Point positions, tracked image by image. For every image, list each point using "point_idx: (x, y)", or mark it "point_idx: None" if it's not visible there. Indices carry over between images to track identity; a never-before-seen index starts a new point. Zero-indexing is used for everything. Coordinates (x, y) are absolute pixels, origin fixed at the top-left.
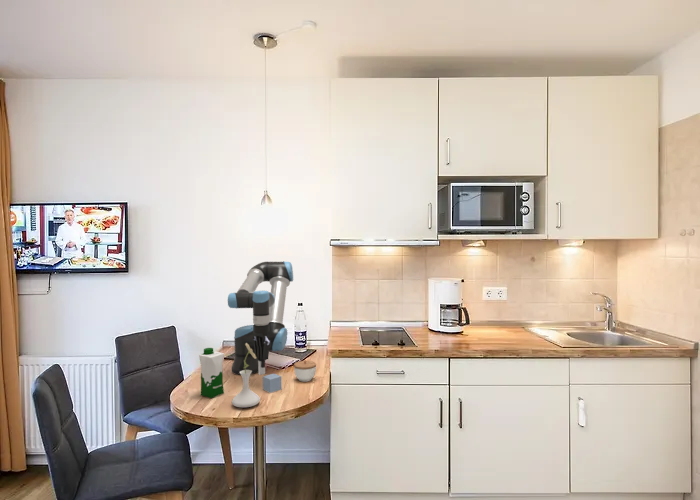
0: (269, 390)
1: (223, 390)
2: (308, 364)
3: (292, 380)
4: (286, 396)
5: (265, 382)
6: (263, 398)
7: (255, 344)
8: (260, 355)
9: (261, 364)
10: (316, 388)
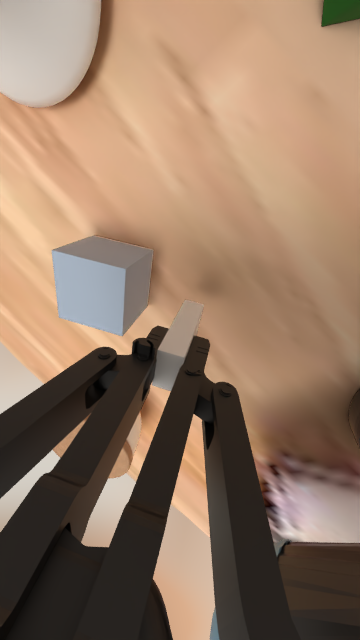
0: (95, 238)
1: (324, 1)
2: (66, 445)
3: None
4: (22, 243)
5: (112, 254)
6: (59, 160)
7: (229, 549)
8: (134, 385)
9: (162, 340)
10: (29, 351)
